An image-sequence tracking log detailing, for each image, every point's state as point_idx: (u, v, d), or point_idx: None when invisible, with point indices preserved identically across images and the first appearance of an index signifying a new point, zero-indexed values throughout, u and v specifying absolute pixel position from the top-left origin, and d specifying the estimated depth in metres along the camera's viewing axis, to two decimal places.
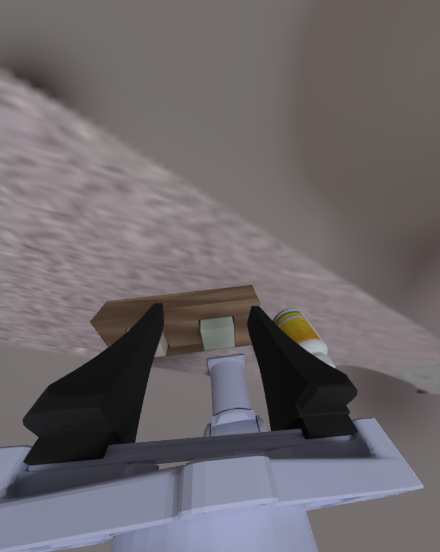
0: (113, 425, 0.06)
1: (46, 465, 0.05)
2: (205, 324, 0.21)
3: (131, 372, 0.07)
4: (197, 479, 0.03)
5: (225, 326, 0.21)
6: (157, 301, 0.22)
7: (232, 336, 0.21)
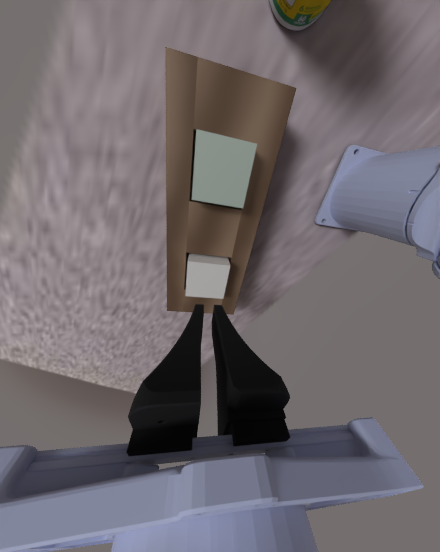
0: (198, 419, 0.06)
1: (142, 456, 0.06)
2: None
3: None
4: (197, 479, 0.03)
5: (195, 149, 0.11)
6: None
7: (224, 140, 0.11)
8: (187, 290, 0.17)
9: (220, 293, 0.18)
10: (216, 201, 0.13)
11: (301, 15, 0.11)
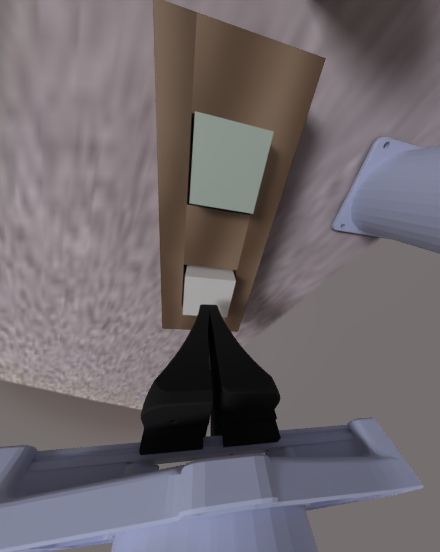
0: (208, 418, 0.06)
1: (154, 455, 0.06)
2: None
3: None
4: (197, 479, 0.03)
5: (193, 138, 0.09)
6: None
7: (231, 126, 0.09)
8: (185, 308, 0.15)
9: (223, 311, 0.15)
10: (220, 205, 0.10)
11: None
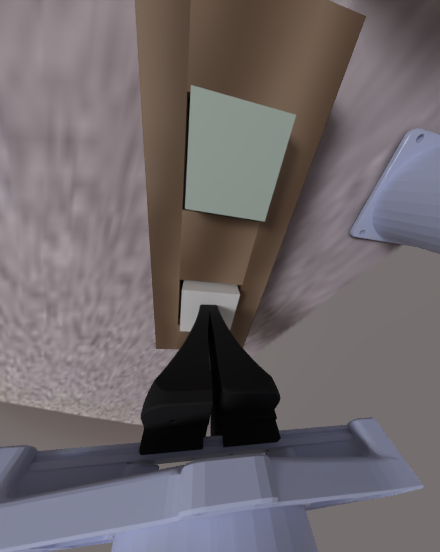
0: (208, 418, 0.06)
1: (154, 455, 0.06)
2: None
3: None
4: (197, 479, 0.03)
5: (189, 123, 0.07)
6: None
7: (240, 107, 0.06)
8: (182, 324, 0.13)
9: None
10: (224, 211, 0.08)
11: None
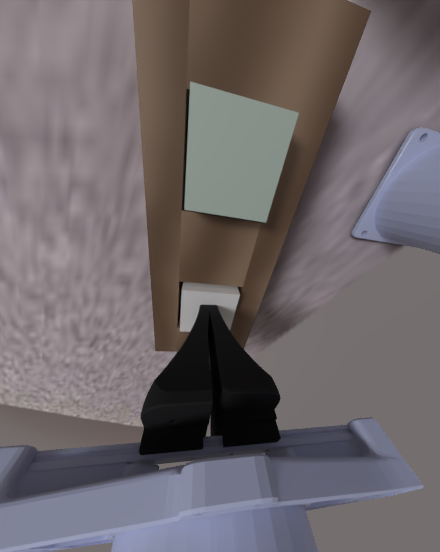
0: (208, 418, 0.06)
1: (154, 455, 0.06)
2: None
3: None
4: (197, 479, 0.03)
5: (188, 121, 0.06)
6: None
7: (241, 105, 0.06)
8: (182, 324, 0.13)
9: None
10: (224, 212, 0.08)
11: None
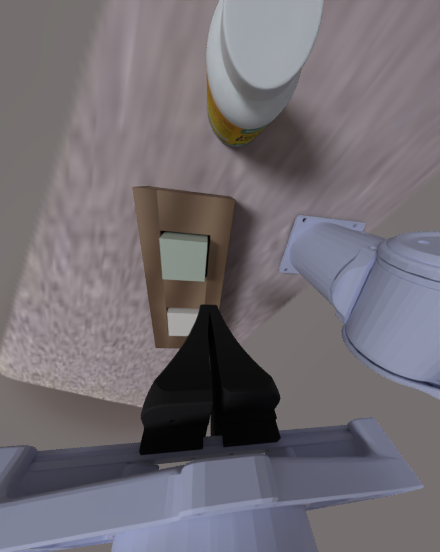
0: (209, 418, 0.06)
1: (154, 455, 0.06)
2: None
3: None
4: (197, 479, 0.03)
5: (160, 249, 0.15)
6: None
7: (181, 242, 0.15)
8: (169, 331, 0.22)
9: None
10: (182, 278, 0.17)
11: (237, 144, 0.14)
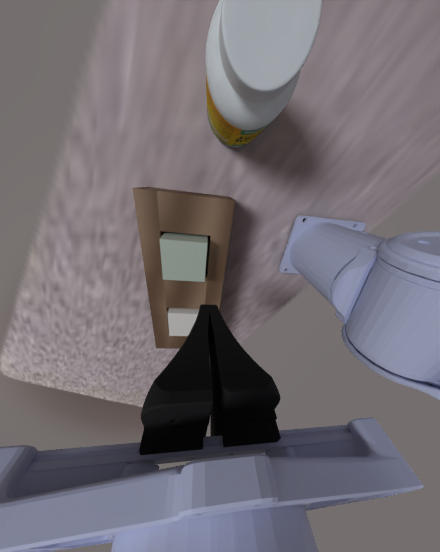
0: (209, 418, 0.06)
1: (154, 455, 0.06)
2: None
3: None
4: (197, 479, 0.03)
5: (160, 249, 0.15)
6: None
7: (181, 243, 0.15)
8: (170, 332, 0.22)
9: None
10: (182, 279, 0.17)
11: (236, 145, 0.14)
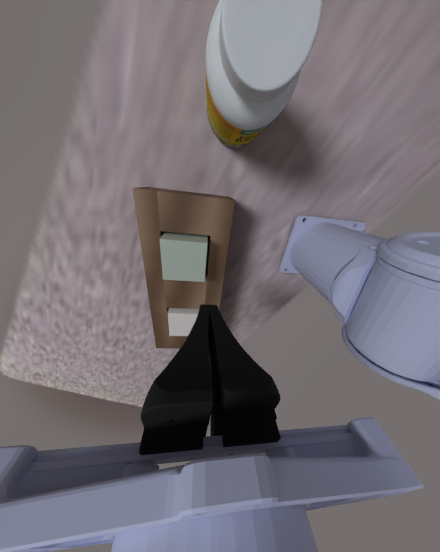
0: (209, 418, 0.06)
1: (154, 455, 0.06)
2: None
3: None
4: (197, 479, 0.03)
5: (160, 249, 0.15)
6: None
7: (181, 243, 0.15)
8: (170, 332, 0.22)
9: None
10: (182, 279, 0.17)
11: (236, 145, 0.14)
